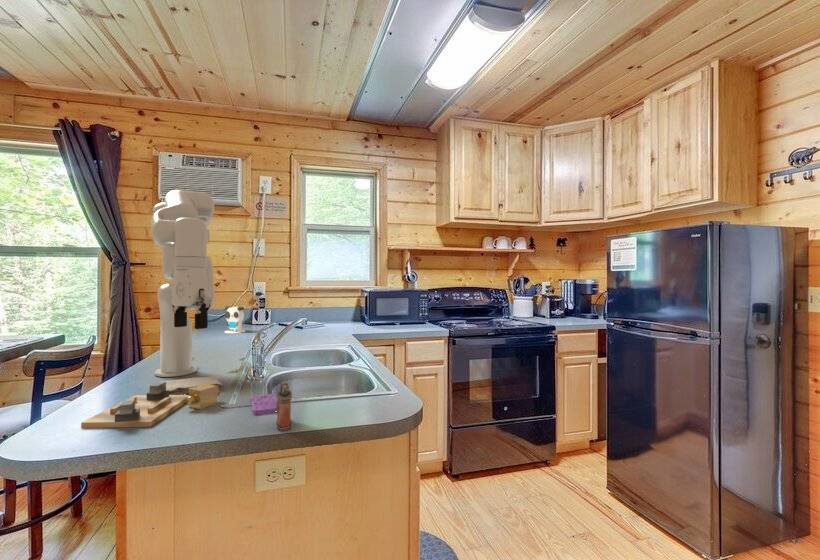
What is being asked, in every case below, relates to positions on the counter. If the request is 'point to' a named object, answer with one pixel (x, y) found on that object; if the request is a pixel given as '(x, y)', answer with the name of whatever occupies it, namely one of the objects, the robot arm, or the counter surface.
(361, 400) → the counter surface
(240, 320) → the panda figurine
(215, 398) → the coupler
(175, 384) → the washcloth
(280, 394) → the amber flat bottle
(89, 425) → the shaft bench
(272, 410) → the sponges
